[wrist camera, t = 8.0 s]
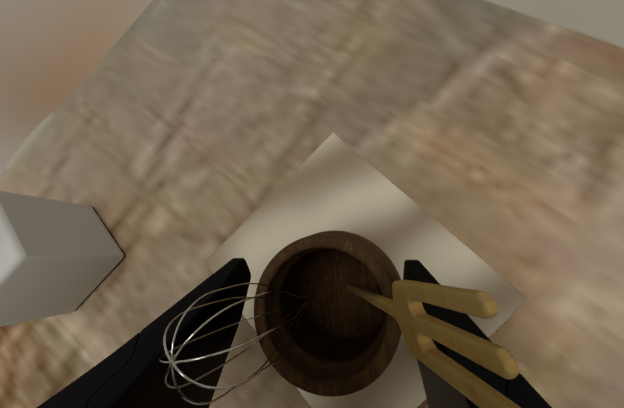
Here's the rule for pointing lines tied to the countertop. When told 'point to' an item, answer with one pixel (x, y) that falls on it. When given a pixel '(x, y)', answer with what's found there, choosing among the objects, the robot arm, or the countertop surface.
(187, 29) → the countertop surface
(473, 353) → the utensil holder
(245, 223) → the ash cloth
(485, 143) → the countertop surface
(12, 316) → the medicine bottle
